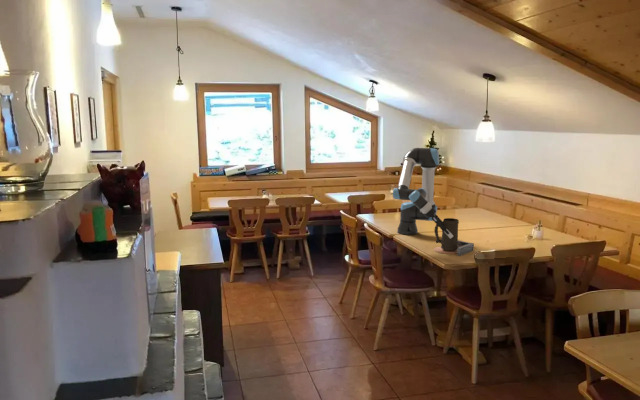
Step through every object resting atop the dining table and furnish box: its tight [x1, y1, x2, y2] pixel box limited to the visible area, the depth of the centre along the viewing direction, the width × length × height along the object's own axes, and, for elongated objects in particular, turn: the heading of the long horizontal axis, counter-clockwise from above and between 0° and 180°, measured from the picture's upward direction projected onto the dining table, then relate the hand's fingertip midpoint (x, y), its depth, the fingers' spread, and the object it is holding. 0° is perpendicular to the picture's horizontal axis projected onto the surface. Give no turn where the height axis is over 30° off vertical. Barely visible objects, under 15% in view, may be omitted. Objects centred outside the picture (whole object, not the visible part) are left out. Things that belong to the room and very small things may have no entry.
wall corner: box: [456, 240, 475, 257], centre depth 335 cm, size 18×21×5 cm
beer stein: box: [433, 217, 460, 250], centre depth 332 cm, size 15×11×20 cm
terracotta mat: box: [433, 246, 457, 255], centre depth 334 cm, size 16×16×1 cm
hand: (451, 235), depth 332 cm, fingers closed on beer stein, 9 cm apart
